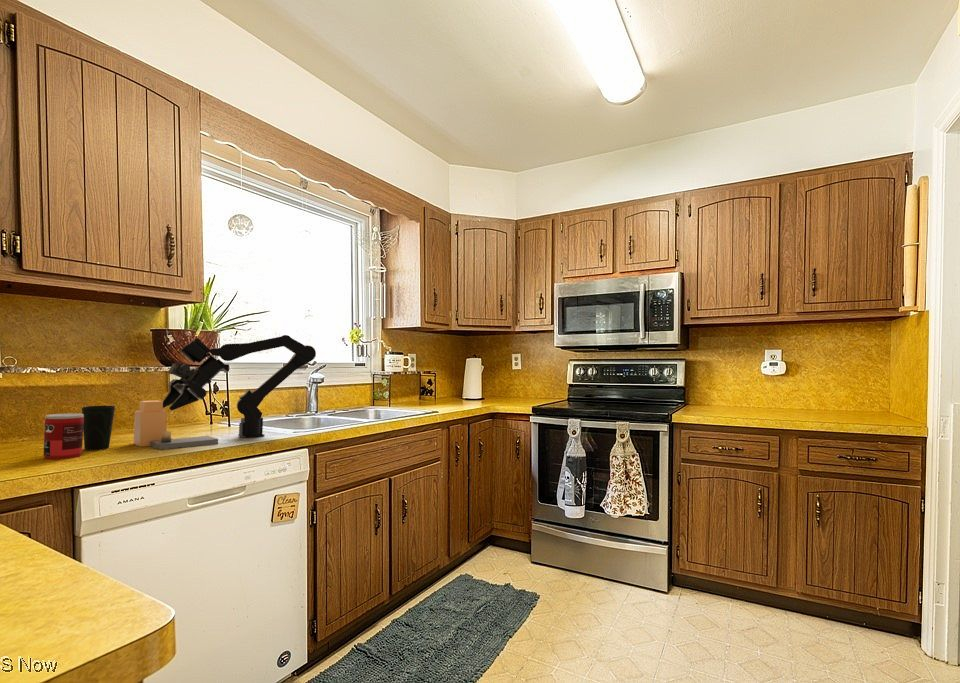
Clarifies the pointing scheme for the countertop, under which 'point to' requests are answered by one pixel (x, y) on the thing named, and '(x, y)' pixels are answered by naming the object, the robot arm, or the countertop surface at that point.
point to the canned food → (63, 435)
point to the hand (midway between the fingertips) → (165, 408)
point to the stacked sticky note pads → (149, 422)
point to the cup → (97, 426)
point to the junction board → (181, 441)
